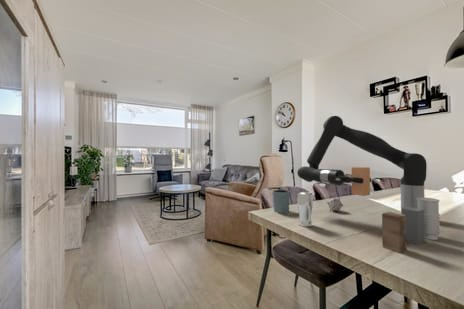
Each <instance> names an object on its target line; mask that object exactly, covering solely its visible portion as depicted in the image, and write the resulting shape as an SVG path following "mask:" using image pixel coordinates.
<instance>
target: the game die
mask: <svg viewBox="0 0 464 309" xmlns="http://www.w3.org/2000/svg"><path fill="white" fill-rule="evenodd" d="M327 205H328V207H329V212H331V211H336V212H339V213H340V212H341V211H340V210H341V209H342V207H344V205H343V203H342V201H341V197H339V198H338V197H336V198H335V197H331V196H330V198H329V200H328V202H327Z"/></svg>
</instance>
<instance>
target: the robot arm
mask: <svg viewBox="0 0 464 309" xmlns="http://www.w3.org/2000/svg"><path fill="white" fill-rule="evenodd" d="M322 126H323V131H322V133H321V135H320V136H319V139H318V140H317V142H316V143H315V145H314V147H313V148H312V150H311V152H310V154H309V155H308V158H307V160H306V163H307V164H308V165H309V166H305V165H304V166H300V167H299V168H298V169H297V171H296V172H297V176H298V177H299V178H300V179H302V180H304V181H305V182H308V183H311V182H313V181H314V182H317V183H324V184H327V185H333V186H342V185H343V184H344V183H345V184H352V183H363V182H364V180H363V178H355V177H352V174H351V173H345V172H344V171H343V170H341V169H334V168H332V169H331V168H325V169H322V168H320V164H321V162H322V161H323V159H324V156H325V155H326V153H327V151H328V149H329V147H330V145H331V143H332V142H333V140H334V138H335V137H336V138H339V139H343V140H344V141H346V142H348V143H350V144H352V145H353V146H355V147H357V148H359V149H361V150H363V151H365V152H367V153H369V154H372V155H374V156H377V157H380V158H382V159H385V160H387V161H389V162H390V163H391V164H394V165H395V166H397V167H398V168H400V169H402V170H403V176H402V177H401V178H400V214H402V208H406V207H412V208H417V198H418V197H423V198H425V182H426V179H427V159H426V158H425V157H424V155H422V154H420V153H413V152H412V153H411V152H405V151H404V150H401V149H398V148H395V147H393V145H391V144H389V142H387V141H385V139H383V138H381V137H380V136H377V135H375V134H372V133H371V132H367V131H363V130H358V129H354V128H351V127H349V126H347V125H345V124H344V121H343V119H342V117H340V116H337V115H332V116H330V117H328V118H327V119H326V120H325V121H324V123H323V125H322ZM371 182H372V177H370V183H371Z"/></svg>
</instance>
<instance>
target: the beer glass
mask: <svg viewBox="0 0 464 309" xmlns="http://www.w3.org/2000/svg"><path fill="white" fill-rule="evenodd" d="M313 198H314V197H313V192H307V191H299V192H297V200H296V202H297V210H298V218H299V219H298V225H299V226H300V227H303V226H304V228H305V227H306V228H309V227H312V226H313V222H312V221H313V220H312V214H313V212H312V211H313V207H314V206H313V205H314V199H313Z"/></svg>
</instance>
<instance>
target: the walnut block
mask: <svg viewBox="0 0 464 309" xmlns="http://www.w3.org/2000/svg"><path fill="white" fill-rule="evenodd" d="M381 217H382V218H381V222H382V224H381V225H382V226H381V227H382V228H381V233H382V235H381V236H382V237H381V238H382V244H381V245H382V248H384V249H386V250H389V251H392V252H396V253H399V254H400V253H402V252H404V251H406V250H407V241H406V215H403V214H401V213H398V212H393V211H387V212H382V213H381Z"/></svg>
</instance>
